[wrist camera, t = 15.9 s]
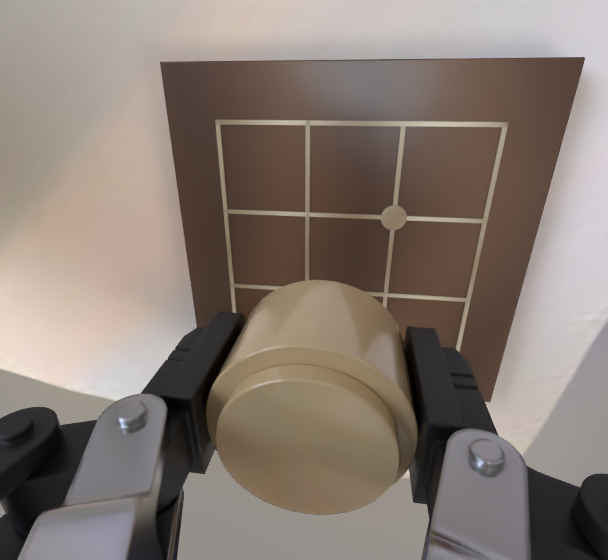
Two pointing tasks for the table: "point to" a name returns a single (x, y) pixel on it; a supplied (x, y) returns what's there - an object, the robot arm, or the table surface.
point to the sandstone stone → (315, 400)
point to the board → (370, 184)
